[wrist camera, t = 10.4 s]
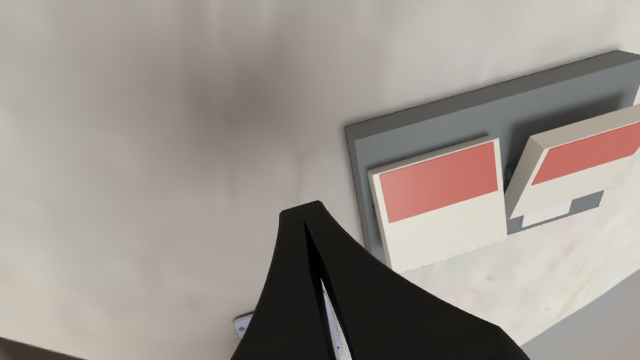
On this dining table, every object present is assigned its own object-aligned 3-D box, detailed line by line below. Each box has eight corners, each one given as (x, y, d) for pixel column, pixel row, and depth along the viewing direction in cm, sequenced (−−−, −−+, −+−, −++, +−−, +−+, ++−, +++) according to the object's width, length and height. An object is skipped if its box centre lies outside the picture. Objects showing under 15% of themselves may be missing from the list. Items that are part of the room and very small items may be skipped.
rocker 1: (496, 231, 24) (508, 239, 23) (387, 265, 23) (393, 275, 22) (486, 134, 22) (499, 138, 21) (366, 169, 21) (372, 175, 20)
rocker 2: (596, 176, 26) (610, 188, 25) (499, 206, 25) (509, 220, 25) (651, 100, 21) (670, 112, 20) (530, 136, 20) (544, 150, 19)
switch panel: (578, 192, 30) (605, 210, 27) (367, 258, 28) (378, 282, 26) (618, 50, 23) (658, 59, 21) (344, 126, 21) (357, 145, 19)
